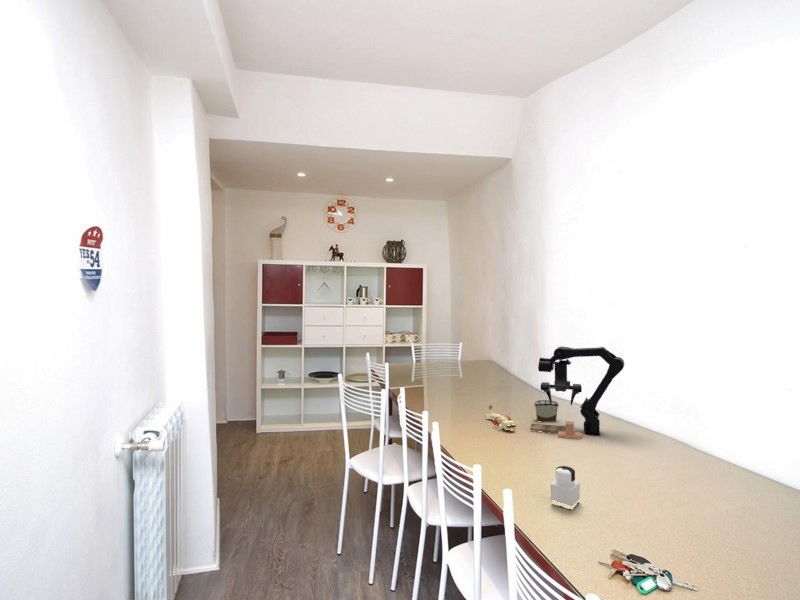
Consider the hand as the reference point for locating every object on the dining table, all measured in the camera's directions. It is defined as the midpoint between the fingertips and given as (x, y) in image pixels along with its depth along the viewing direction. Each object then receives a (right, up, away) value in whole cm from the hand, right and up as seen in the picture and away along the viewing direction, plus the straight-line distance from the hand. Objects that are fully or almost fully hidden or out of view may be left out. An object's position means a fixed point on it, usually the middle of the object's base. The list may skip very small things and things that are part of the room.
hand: (561, 404), depth 230 cm
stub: (0, -13, -11) cm, 16 cm away
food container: (-3, -12, +15) cm, 19 cm away
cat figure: (-28, -13, +8) cm, 32 cm away
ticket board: (-7, -12, -1) cm, 14 cm away
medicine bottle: (-24, -17, -74) cm, 79 cm away
